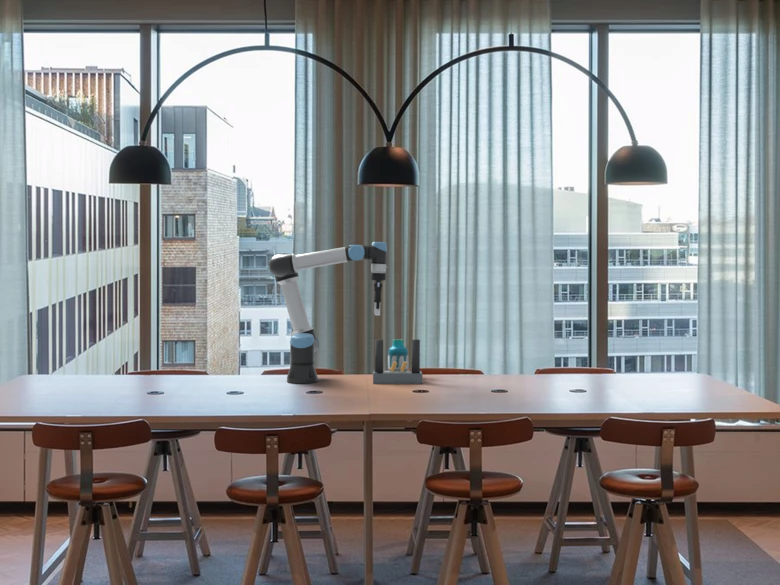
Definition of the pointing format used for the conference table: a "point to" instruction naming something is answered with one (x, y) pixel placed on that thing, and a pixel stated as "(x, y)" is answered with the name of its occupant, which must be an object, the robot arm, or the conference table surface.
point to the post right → (415, 356)
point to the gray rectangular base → (397, 377)
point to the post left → (379, 356)
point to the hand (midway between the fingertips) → (377, 314)
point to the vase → (397, 355)
